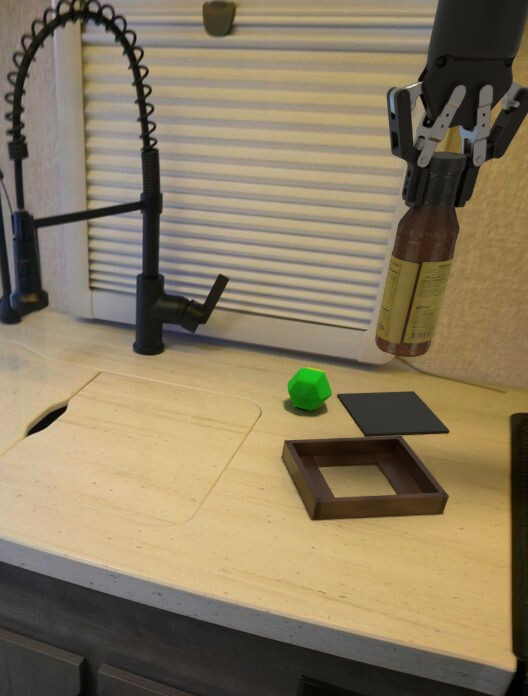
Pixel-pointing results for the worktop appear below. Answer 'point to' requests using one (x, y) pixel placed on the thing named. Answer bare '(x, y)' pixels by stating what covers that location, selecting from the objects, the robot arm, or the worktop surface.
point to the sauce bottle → (421, 262)
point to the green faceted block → (309, 388)
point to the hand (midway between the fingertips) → (434, 205)
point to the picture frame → (386, 451)
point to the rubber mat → (391, 413)
